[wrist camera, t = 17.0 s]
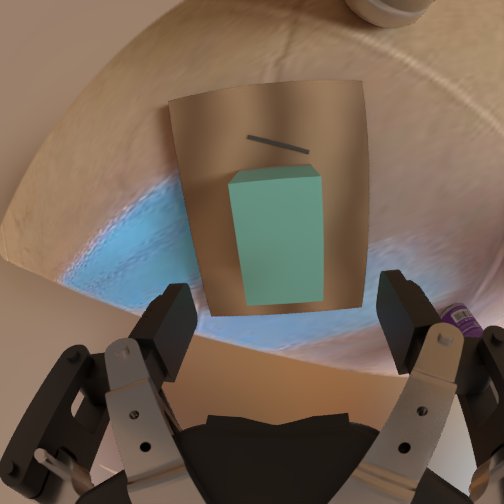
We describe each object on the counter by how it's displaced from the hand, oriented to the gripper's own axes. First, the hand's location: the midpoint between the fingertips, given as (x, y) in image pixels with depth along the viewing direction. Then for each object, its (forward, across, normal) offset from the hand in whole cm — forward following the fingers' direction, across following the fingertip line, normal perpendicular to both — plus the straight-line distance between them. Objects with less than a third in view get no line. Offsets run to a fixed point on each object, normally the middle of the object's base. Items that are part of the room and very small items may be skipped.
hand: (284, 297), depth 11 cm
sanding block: (+10, 0, 0) cm, 10 cm away
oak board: (+12, 0, 0) cm, 12 cm away
